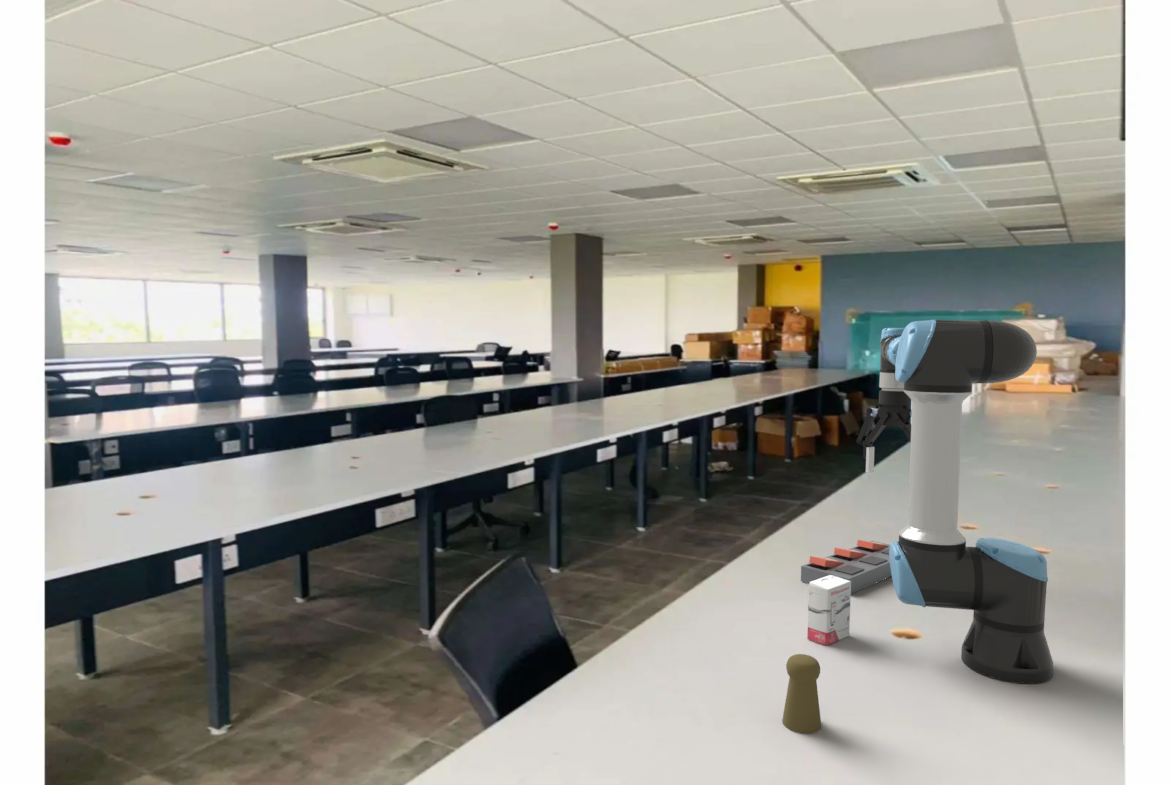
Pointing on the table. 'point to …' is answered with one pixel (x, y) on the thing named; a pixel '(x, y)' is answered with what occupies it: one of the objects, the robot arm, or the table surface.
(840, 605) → the ink box
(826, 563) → the rocker
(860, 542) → the rocker
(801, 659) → the olive brown peg figure
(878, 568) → the power strip
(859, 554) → the rocker
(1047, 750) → the table surface
